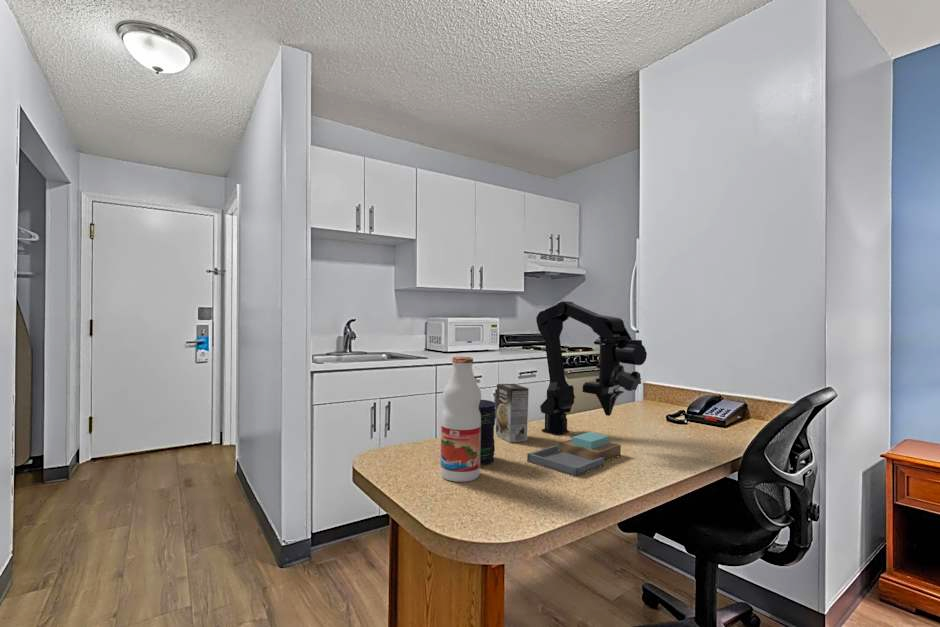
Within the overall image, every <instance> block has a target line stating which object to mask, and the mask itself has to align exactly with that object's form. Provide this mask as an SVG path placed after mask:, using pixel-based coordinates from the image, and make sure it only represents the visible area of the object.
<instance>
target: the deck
mask: <svg viewBox="0 0 940 627" xmlns="http://www.w3.org/2000/svg"><path fill="white" fill-rule="evenodd" d="M621 447H622V446H621V444H618V443H615V442H610V441H609V443H608V444H605V445H602V446H599V447H597V448H594V449H588V448H584V447H580V446H576V445H572V438H571V439H568V440H564V441H561V442H560V450H559V451H561V452H565V453H568V454H572V455H576V456H579V457H583V458H586V459H590V460H595V459H598V458H601V457H602V458H604V461H606V462H608V461H607V460H609V459H611V460H613V459H612V458H614V459H615V457H616V458H618V457H617V456H619V457H621V454H622V453H621V449H622V448H621ZM609 461H610V460H609Z"/></svg>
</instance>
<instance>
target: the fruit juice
mask: <svg viewBox="0 0 940 627" xmlns="http://www.w3.org/2000/svg"><path fill="white" fill-rule="evenodd" d="M451 362H452V366H453V367H452V371H451V373H450V376H449V379H448V382H447V383H446V385H445V386H444V389H443V391H442V402H443V404H444V407H443V410H442V412H441V422H440V423H441V424H440V425H441V426H440V429H441V431H440V432H441V433H440V469H439V470H440V475H441V477H442V479H445V480H447V481H449V482H450V481H451V482H455V483H456V482H457V483H467V482H472V481H475V480H476V479H478V478H479V477H480V473H481V466H480V451H481V413H480V411H479V404H480V401H481V400H482V391H481V389H480V387H479V385H478V383H477V381H476V379H475V378H476V377H475V375H474V372H473V368H472V367H473V363H474V358H473V357H471V356H454V357H452V359H451Z"/></svg>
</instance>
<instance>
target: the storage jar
mask: <svg viewBox="0 0 940 627" xmlns="http://www.w3.org/2000/svg"><path fill="white" fill-rule="evenodd" d="M495 407H496V402H494V401H492V400H488V399H481V401H480V404H479V411H480V413H481V451H480V465H485V466H489V465H491V463H492V464H493V463H494V462H495V457H494V456H495V451H496V450H495V449H496V447H495V438H494V437H495V426H496V408H495ZM488 464H489V465H488Z"/></svg>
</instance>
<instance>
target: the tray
mask: <svg viewBox="0 0 940 627" xmlns="http://www.w3.org/2000/svg"><path fill="white" fill-rule="evenodd" d="M526 454H527V455H526V459H527V460H526V461H527V462H529V463H531V464H533V465H537V466H541V467H543V466H544V468H547V469H551V470H553V471H557V472H559V473H563V474H565V473H566V475H568V474H569V476H572V475H573V476H572V477H575V476H577V477H580V476H582V475H584V474H583V473H585V474H587V473H589V472H588V471H590V472H592V471H594V470H593V469H595V468H597V469H599V468H598V467H600V466H602V467H604V466H605V462H604V458H602V457H601V458H598V459H595V460H590V459H586V458H583V457H579V456H576V455H572V454H568V453H565V452H561V451H560V450H559V445H558V444H555V445H551V446H549V447H545V448H542V449H538V450H535V451H532V452H528V453H526ZM603 465H604V466H603ZM600 468H601V467H600ZM591 470H592V471H591ZM595 470H596V469H595ZM586 472H587V473H586ZM581 474H582V475H581ZM579 475H580V476H579Z"/></svg>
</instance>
